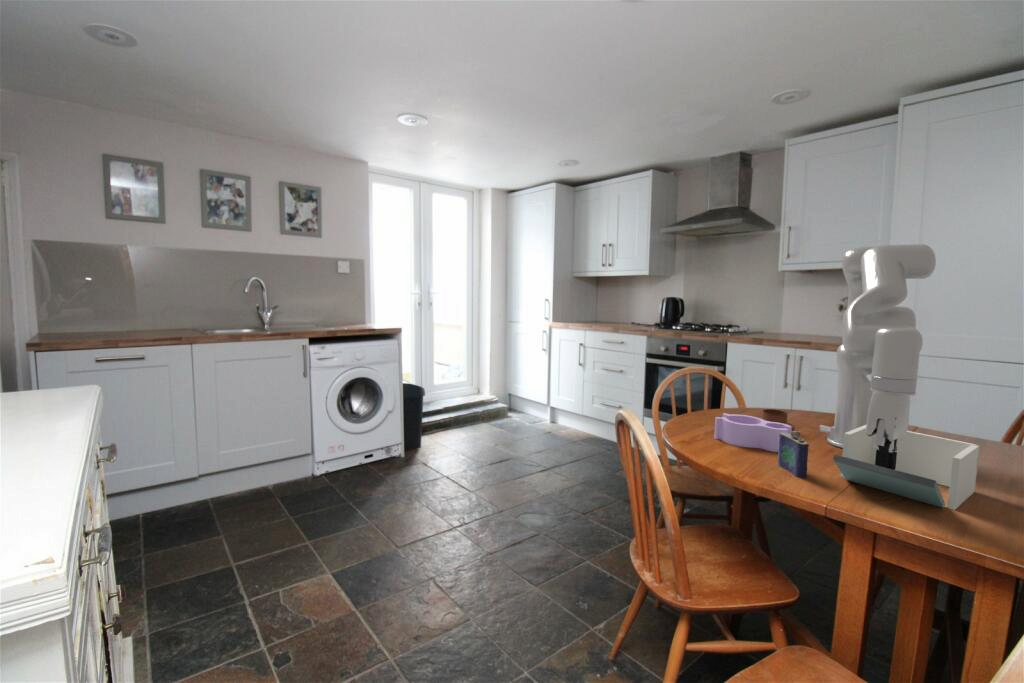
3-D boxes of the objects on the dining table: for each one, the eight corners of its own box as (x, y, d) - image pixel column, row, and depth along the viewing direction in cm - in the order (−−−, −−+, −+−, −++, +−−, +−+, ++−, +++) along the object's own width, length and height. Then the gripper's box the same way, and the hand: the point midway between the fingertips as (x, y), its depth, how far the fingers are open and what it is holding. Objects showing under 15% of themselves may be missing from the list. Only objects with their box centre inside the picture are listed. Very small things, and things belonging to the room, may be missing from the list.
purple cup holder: (793, 446, 142) (795, 423, 141) (782, 456, 133) (784, 432, 132) (724, 432, 155) (726, 411, 154) (710, 440, 146) (712, 419, 145)
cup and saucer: (752, 423, 166) (753, 406, 165) (791, 427, 161) (792, 409, 161) (755, 432, 155) (756, 414, 154) (797, 437, 150) (798, 418, 150)
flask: (774, 467, 124) (777, 425, 123) (786, 467, 124) (789, 425, 123) (798, 482, 114) (802, 436, 113) (811, 482, 114) (815, 437, 113)
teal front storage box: (865, 467, 124) (869, 423, 123) (974, 495, 107) (980, 445, 106) (840, 480, 115) (844, 433, 114) (954, 514, 98) (960, 459, 97)
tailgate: (848, 476, 114) (834, 454, 108) (945, 504, 100) (935, 480, 93) (847, 481, 114) (832, 459, 108) (943, 509, 99) (933, 486, 93)
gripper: (884, 379, 107) (877, 457, 109) (858, 385, 99) (850, 470, 100) (926, 385, 101) (918, 467, 103) (902, 392, 92) (894, 481, 94)
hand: (884, 468), depth 102 cm, fingers closed
